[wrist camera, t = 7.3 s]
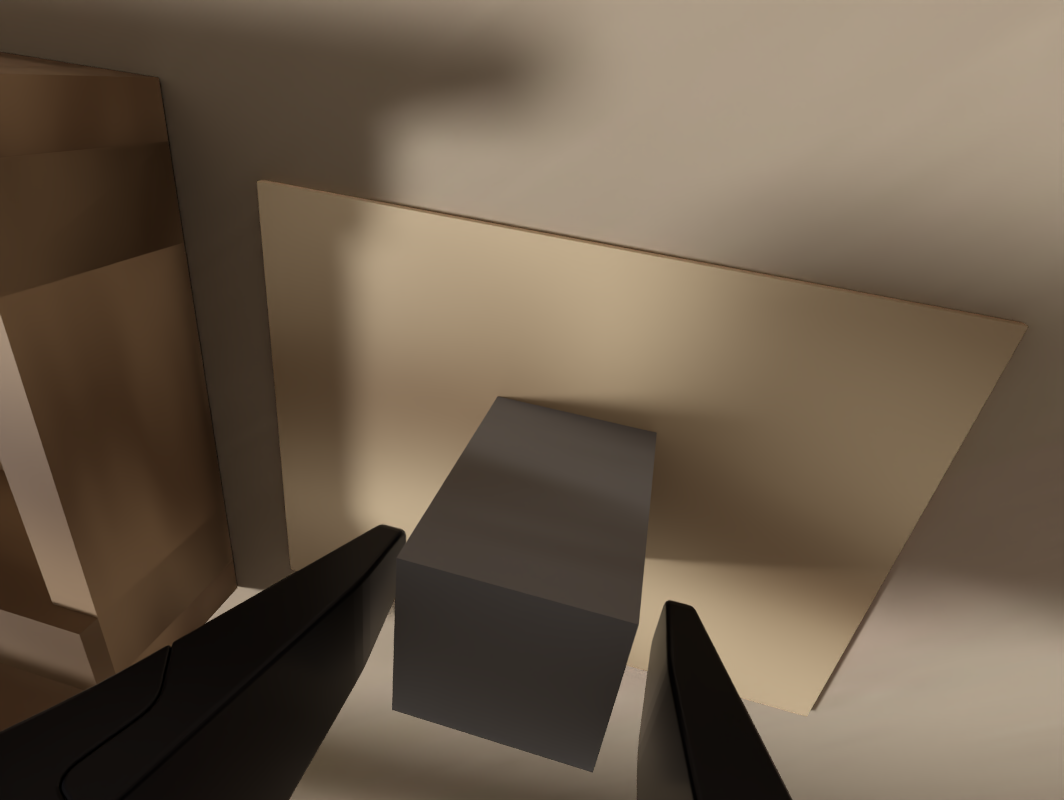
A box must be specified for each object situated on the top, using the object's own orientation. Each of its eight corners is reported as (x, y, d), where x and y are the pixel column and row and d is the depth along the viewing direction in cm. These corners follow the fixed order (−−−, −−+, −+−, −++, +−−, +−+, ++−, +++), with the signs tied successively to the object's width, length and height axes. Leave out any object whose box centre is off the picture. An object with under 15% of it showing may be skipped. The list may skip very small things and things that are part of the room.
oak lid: (798, 670, 14) (856, 981, 9) (316, 537, 16) (148, 740, 11) (992, 301, 10) (1304, 518, 5) (295, 172, 11) (-3, 235, 7)
